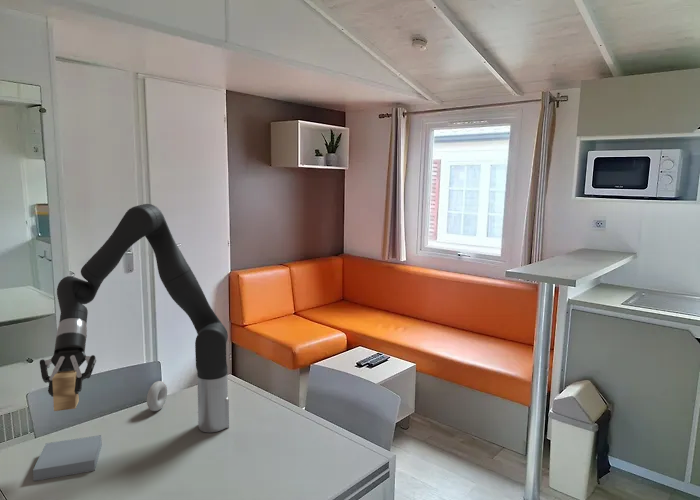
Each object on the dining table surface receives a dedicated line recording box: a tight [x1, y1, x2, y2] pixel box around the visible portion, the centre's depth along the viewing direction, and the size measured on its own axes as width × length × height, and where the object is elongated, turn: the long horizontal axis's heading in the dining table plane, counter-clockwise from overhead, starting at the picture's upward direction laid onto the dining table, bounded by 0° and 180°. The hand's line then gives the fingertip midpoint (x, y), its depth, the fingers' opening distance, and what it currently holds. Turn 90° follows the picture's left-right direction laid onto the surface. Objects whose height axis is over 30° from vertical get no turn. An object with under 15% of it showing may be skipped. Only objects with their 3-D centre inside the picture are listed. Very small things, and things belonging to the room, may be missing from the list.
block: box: [52, 370, 80, 412], centre depth 128 cm, size 5×5×9 cm
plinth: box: [32, 434, 103, 482], centre depth 130 cm, size 14×14×3 cm
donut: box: [146, 380, 168, 412], centre depth 162 cm, size 10×4×10 cm, turn 173°
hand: (64, 393), depth 126 cm, fingers closed on block, 5 cm apart
